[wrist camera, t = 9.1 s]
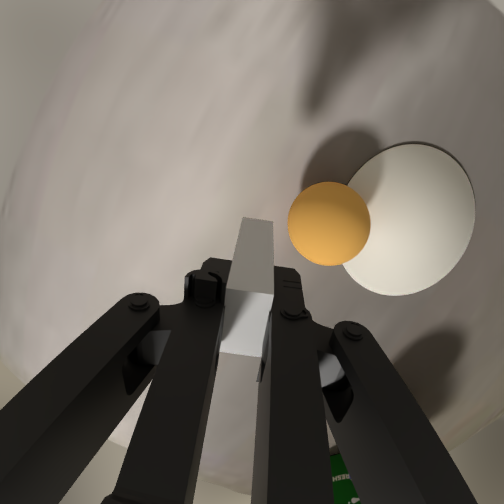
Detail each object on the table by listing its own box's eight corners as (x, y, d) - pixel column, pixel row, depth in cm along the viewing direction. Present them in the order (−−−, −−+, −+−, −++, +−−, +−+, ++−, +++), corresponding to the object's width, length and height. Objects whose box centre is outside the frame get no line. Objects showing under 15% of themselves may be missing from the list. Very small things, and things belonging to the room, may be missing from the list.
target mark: (489, 168, 21) (491, 168, 21) (444, 299, 27) (445, 300, 26) (354, 125, 21) (355, 125, 20) (317, 286, 26) (318, 287, 26)
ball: (286, 166, 21) (355, 177, 23) (271, 239, 24) (337, 243, 25) (316, 194, 17) (397, 205, 18) (294, 281, 19) (370, 282, 21)
